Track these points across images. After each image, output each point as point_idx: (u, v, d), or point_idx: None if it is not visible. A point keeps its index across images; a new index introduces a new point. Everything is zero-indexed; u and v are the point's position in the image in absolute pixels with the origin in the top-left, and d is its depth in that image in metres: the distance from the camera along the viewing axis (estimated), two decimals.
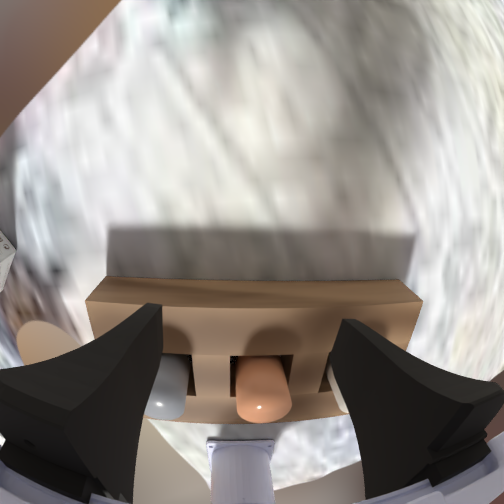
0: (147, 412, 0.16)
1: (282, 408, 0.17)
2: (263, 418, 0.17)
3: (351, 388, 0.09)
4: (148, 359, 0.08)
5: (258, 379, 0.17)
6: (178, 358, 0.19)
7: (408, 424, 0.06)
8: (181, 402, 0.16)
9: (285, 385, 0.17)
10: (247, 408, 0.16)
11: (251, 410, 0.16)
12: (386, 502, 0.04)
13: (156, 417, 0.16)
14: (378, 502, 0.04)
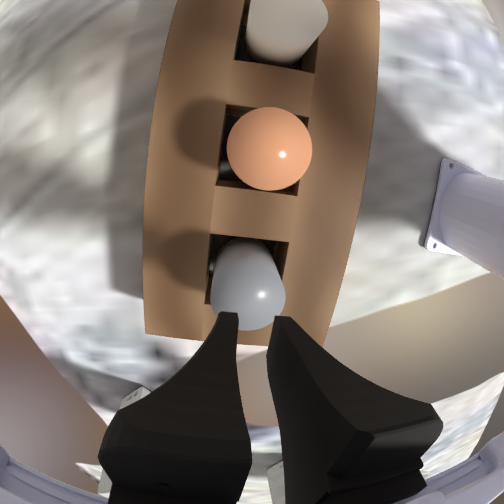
0: (267, 317, 0.14)
1: (278, 121, 0.11)
2: (299, 153, 0.11)
3: (279, 391, 0.09)
4: None
5: None
6: (223, 250, 0.16)
7: (313, 440, 0.05)
8: (243, 266, 0.13)
9: None
10: (265, 173, 0.12)
11: (272, 168, 0.12)
12: None
13: (278, 308, 0.14)
14: None
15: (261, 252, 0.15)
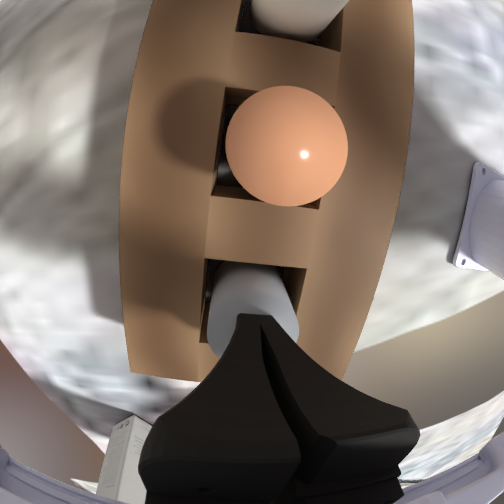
0: None
1: (300, 106, 0.07)
2: (330, 153, 0.08)
3: None
4: None
5: None
6: (222, 270, 0.13)
7: None
8: (247, 297, 0.10)
9: None
10: (282, 181, 0.08)
11: (292, 174, 0.08)
12: None
13: None
14: None
15: (269, 274, 0.12)
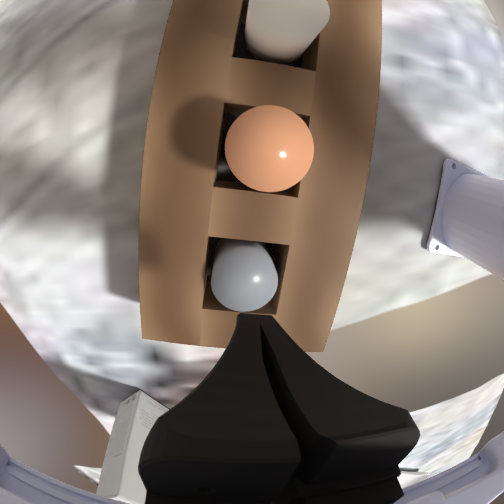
0: (261, 299, 0.16)
1: (278, 120, 0.10)
2: (300, 153, 0.11)
3: None
4: None
5: None
6: (222, 241, 0.18)
7: None
8: (240, 252, 0.15)
9: None
10: (265, 174, 0.11)
11: (273, 169, 0.11)
12: None
13: (272, 291, 0.16)
14: None
15: (256, 241, 0.17)
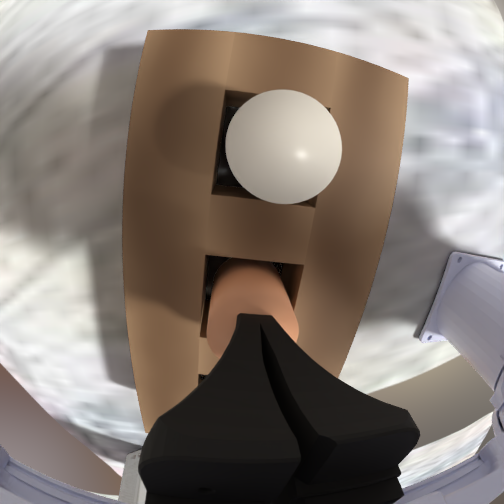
0: None
1: (261, 310, 0.10)
2: None
3: None
4: None
5: None
6: None
7: None
8: None
9: (228, 289, 0.11)
10: None
11: None
12: None
13: None
14: None
15: None
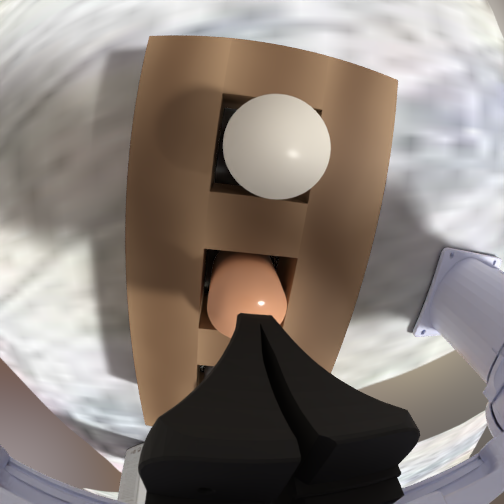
0: None
1: (254, 285, 0.12)
2: (274, 310, 0.13)
3: None
4: None
5: None
6: None
7: None
8: None
9: (225, 268, 0.13)
10: None
11: None
12: None
13: None
14: None
15: None
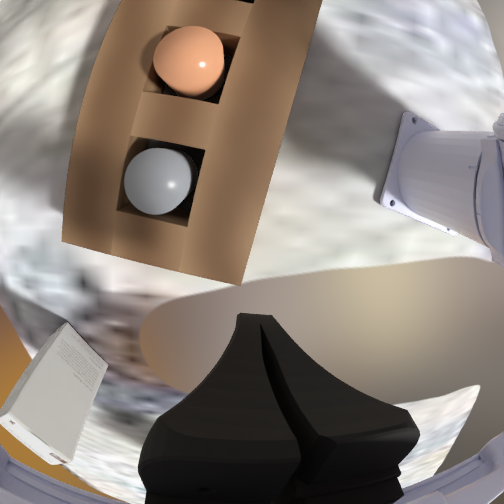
0: (170, 202, 0.15)
1: (197, 35, 0.11)
2: (211, 58, 0.12)
3: None
4: None
5: None
6: None
7: None
8: (154, 149, 0.14)
9: None
10: (180, 72, 0.12)
11: (186, 68, 0.12)
12: None
13: (181, 194, 0.14)
14: None
15: (180, 152, 0.16)
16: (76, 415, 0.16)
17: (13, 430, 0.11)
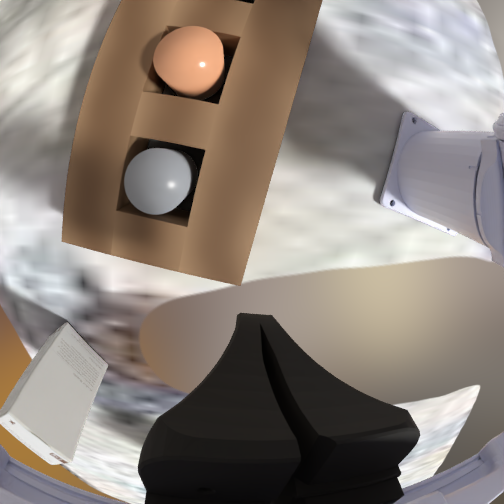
0: (170, 202, 0.15)
1: (197, 35, 0.11)
2: (211, 58, 0.12)
3: None
4: None
5: None
6: None
7: None
8: (154, 149, 0.14)
9: None
10: (180, 72, 0.12)
11: (186, 68, 0.12)
12: None
13: (181, 194, 0.14)
14: None
15: (180, 152, 0.16)
16: (76, 415, 0.16)
17: (13, 430, 0.11)
